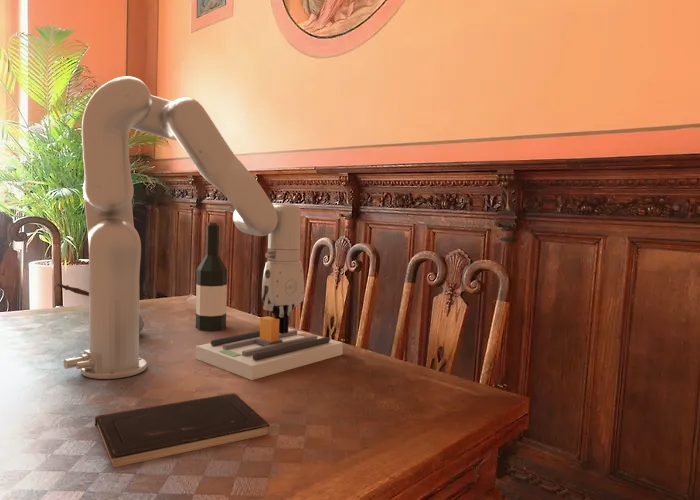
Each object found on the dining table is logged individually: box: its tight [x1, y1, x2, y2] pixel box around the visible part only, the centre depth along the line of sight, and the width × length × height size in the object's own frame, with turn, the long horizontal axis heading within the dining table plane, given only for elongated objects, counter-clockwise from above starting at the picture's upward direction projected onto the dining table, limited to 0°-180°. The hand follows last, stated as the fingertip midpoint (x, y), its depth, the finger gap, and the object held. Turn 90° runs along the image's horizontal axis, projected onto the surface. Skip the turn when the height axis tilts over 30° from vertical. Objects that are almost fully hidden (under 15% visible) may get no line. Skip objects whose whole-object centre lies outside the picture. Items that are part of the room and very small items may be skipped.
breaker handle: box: [256, 316, 282, 346], centre depth 126 cm, size 4×5×6 cm
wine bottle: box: [195, 221, 228, 332], centre depth 151 cm, size 8×8×30 cm
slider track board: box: [195, 327, 344, 381], centre depth 127 cm, size 28×20×4 cm
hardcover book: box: [94, 392, 271, 468], centre depth 85 cm, size 16×23×2 cm
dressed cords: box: [210, 330, 330, 360], centre depth 126 cm, size 23×16×1 cm
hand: (281, 332), depth 128 cm, fingers closed
